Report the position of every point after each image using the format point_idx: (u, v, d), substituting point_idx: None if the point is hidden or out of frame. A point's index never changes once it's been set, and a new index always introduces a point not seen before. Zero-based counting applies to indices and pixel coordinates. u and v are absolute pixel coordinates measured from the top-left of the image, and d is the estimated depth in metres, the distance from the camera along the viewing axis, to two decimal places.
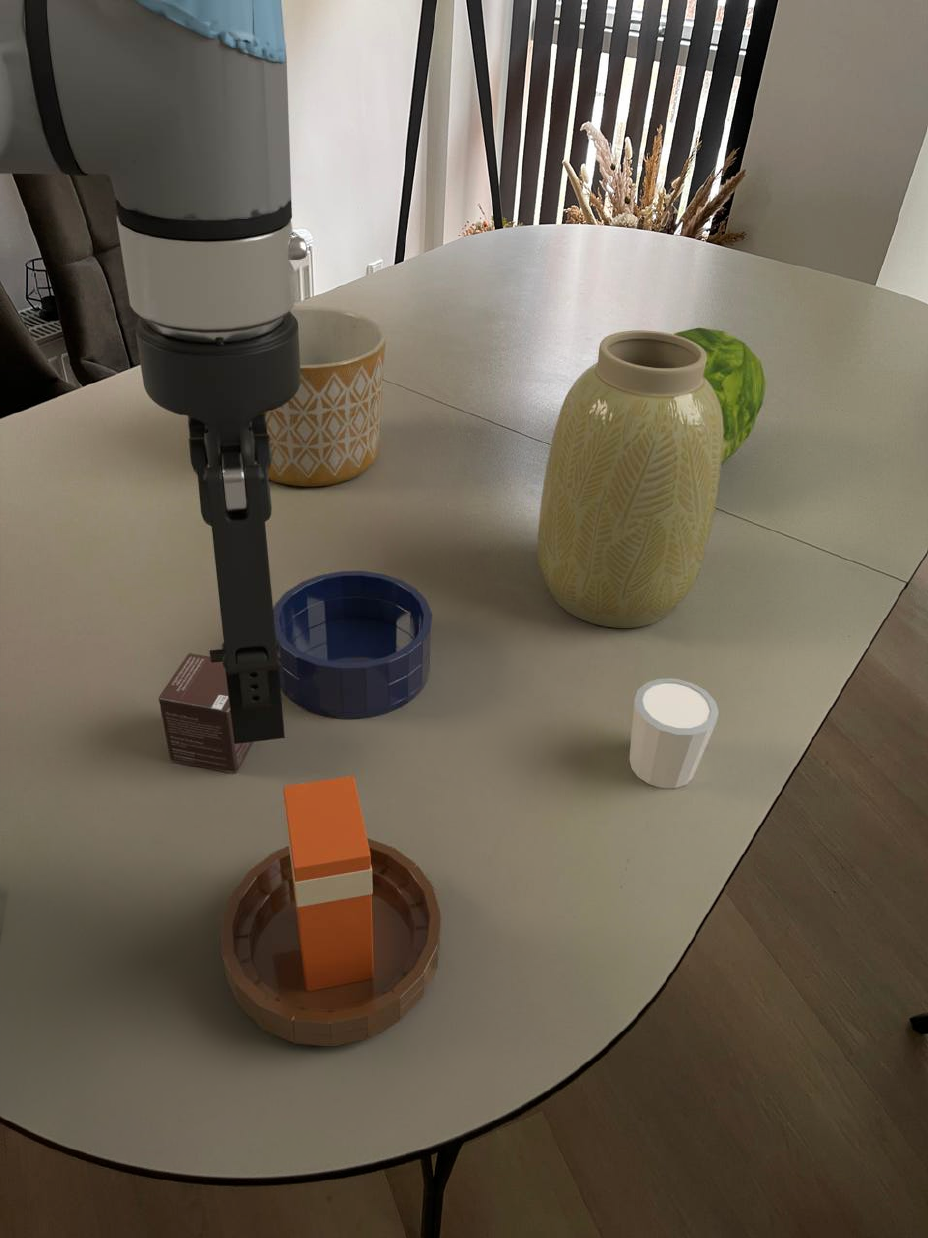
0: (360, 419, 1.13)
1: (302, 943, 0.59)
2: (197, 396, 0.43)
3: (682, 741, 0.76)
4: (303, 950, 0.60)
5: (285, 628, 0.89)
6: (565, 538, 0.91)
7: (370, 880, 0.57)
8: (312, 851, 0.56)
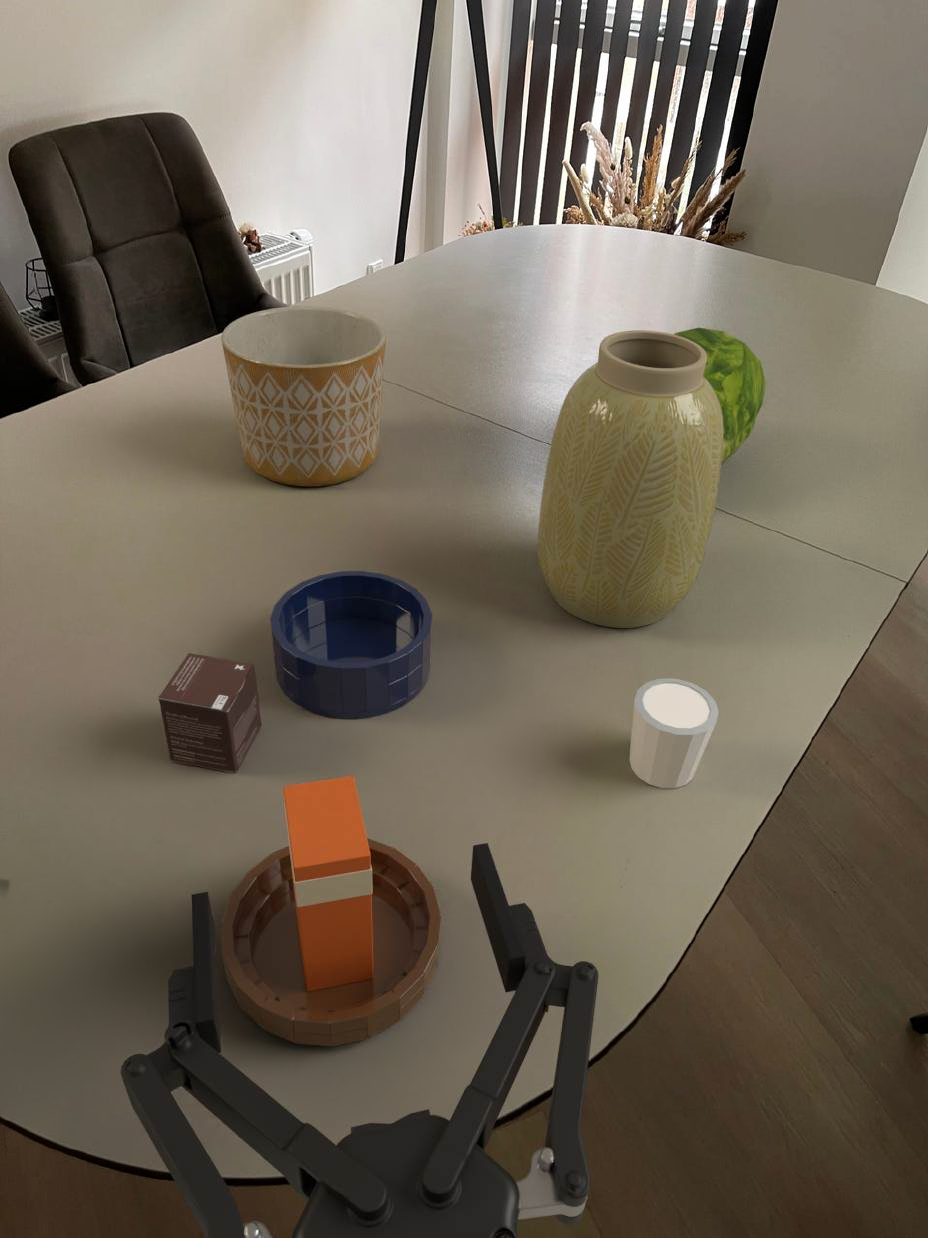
0: (360, 419, 1.13)
1: (302, 943, 0.59)
2: None
3: (682, 741, 0.76)
4: (303, 950, 0.60)
5: (285, 628, 0.89)
6: (565, 538, 0.91)
7: (370, 880, 0.57)
8: (312, 851, 0.56)
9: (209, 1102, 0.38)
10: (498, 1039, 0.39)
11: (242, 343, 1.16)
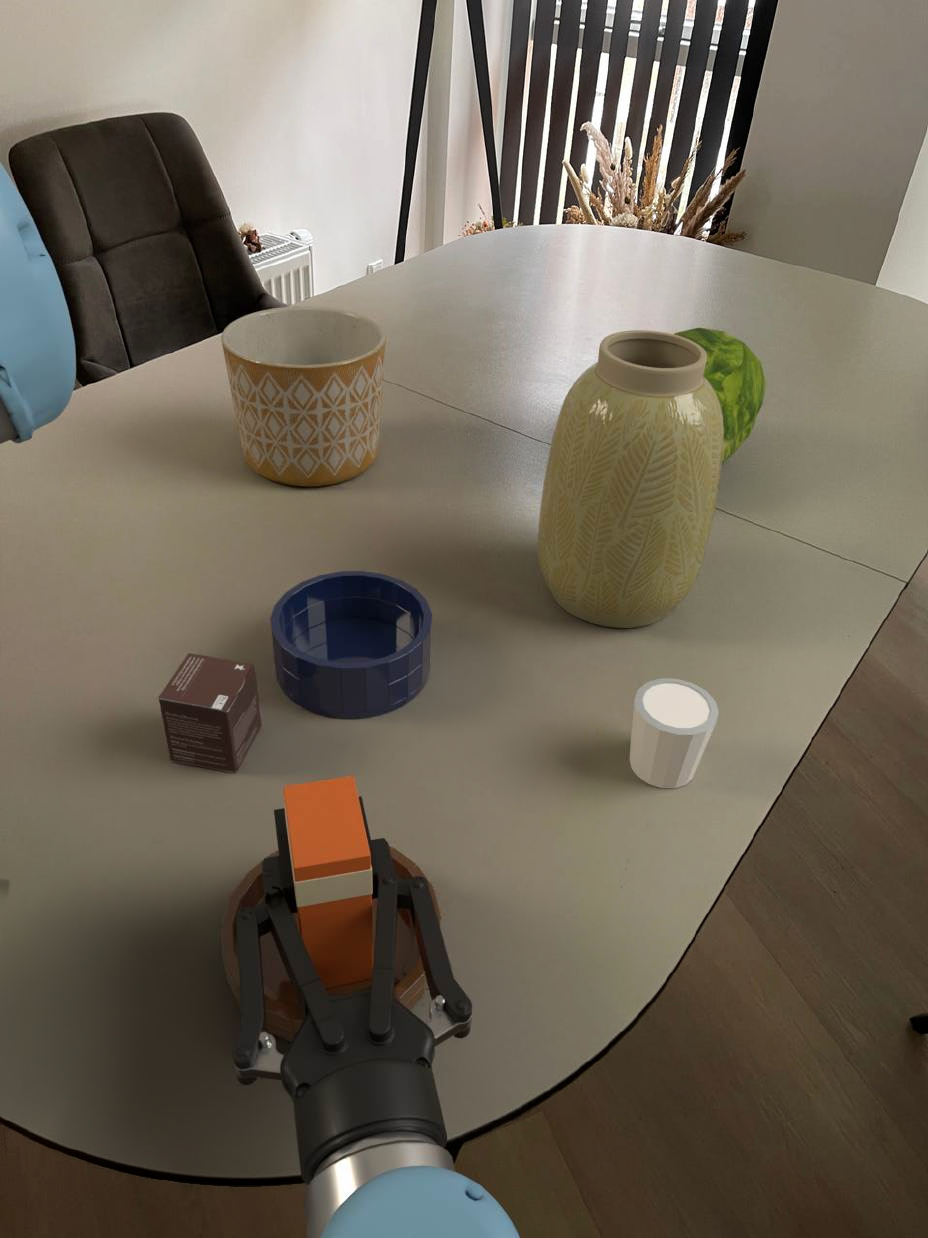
0: (360, 419, 1.13)
1: None
2: (299, 1122, 0.48)
3: (682, 741, 0.76)
4: None
5: (285, 628, 0.89)
6: (565, 538, 0.91)
7: (370, 880, 0.57)
8: (312, 851, 0.56)
9: (277, 944, 0.58)
10: (379, 933, 0.57)
11: (242, 343, 1.16)
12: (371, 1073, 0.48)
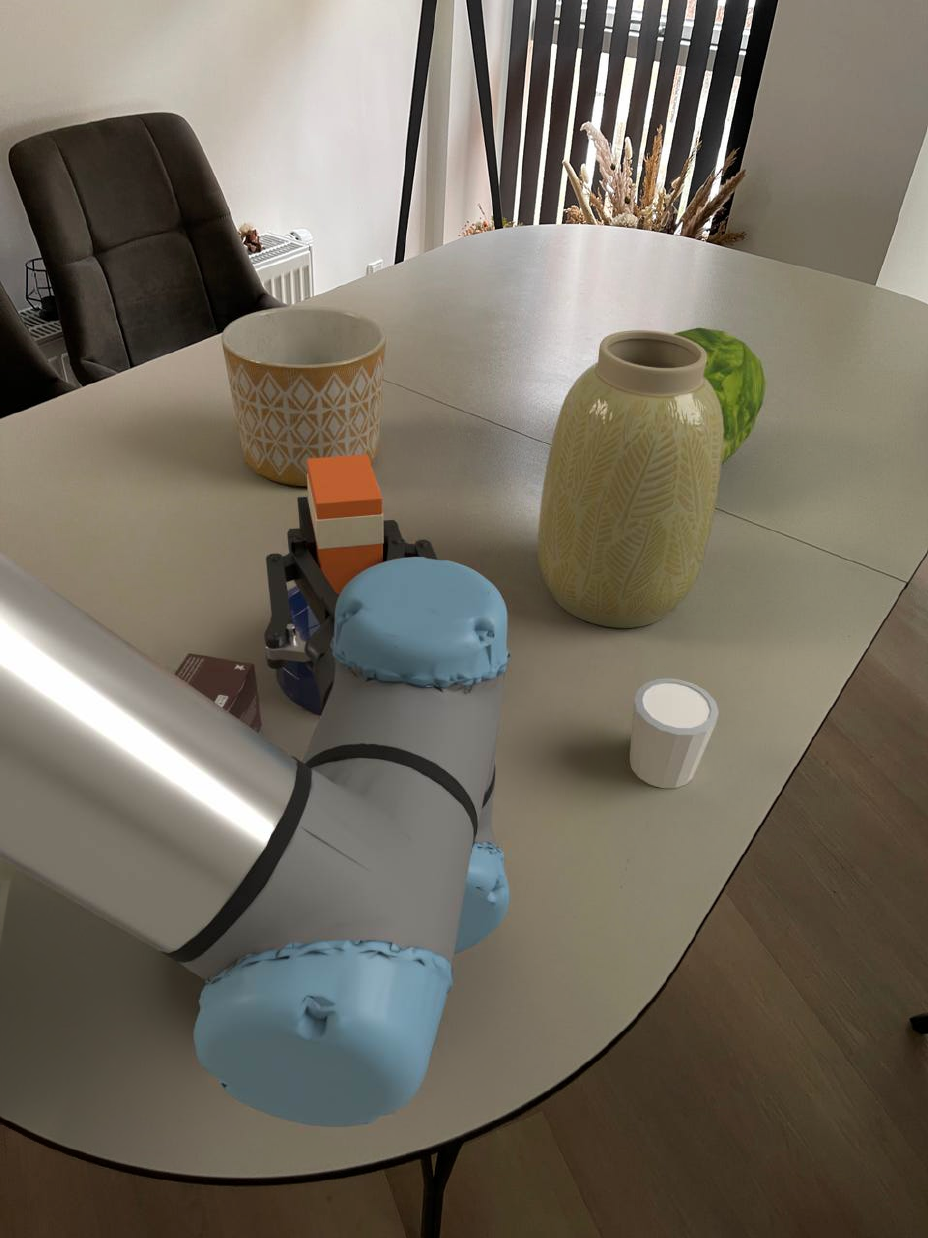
0: (360, 419, 1.13)
1: None
2: (321, 672, 0.57)
3: (682, 741, 0.76)
4: None
5: None
6: (565, 538, 0.91)
7: (381, 527, 0.66)
8: (332, 494, 0.65)
9: (301, 584, 0.67)
10: None
11: (242, 343, 1.16)
12: None
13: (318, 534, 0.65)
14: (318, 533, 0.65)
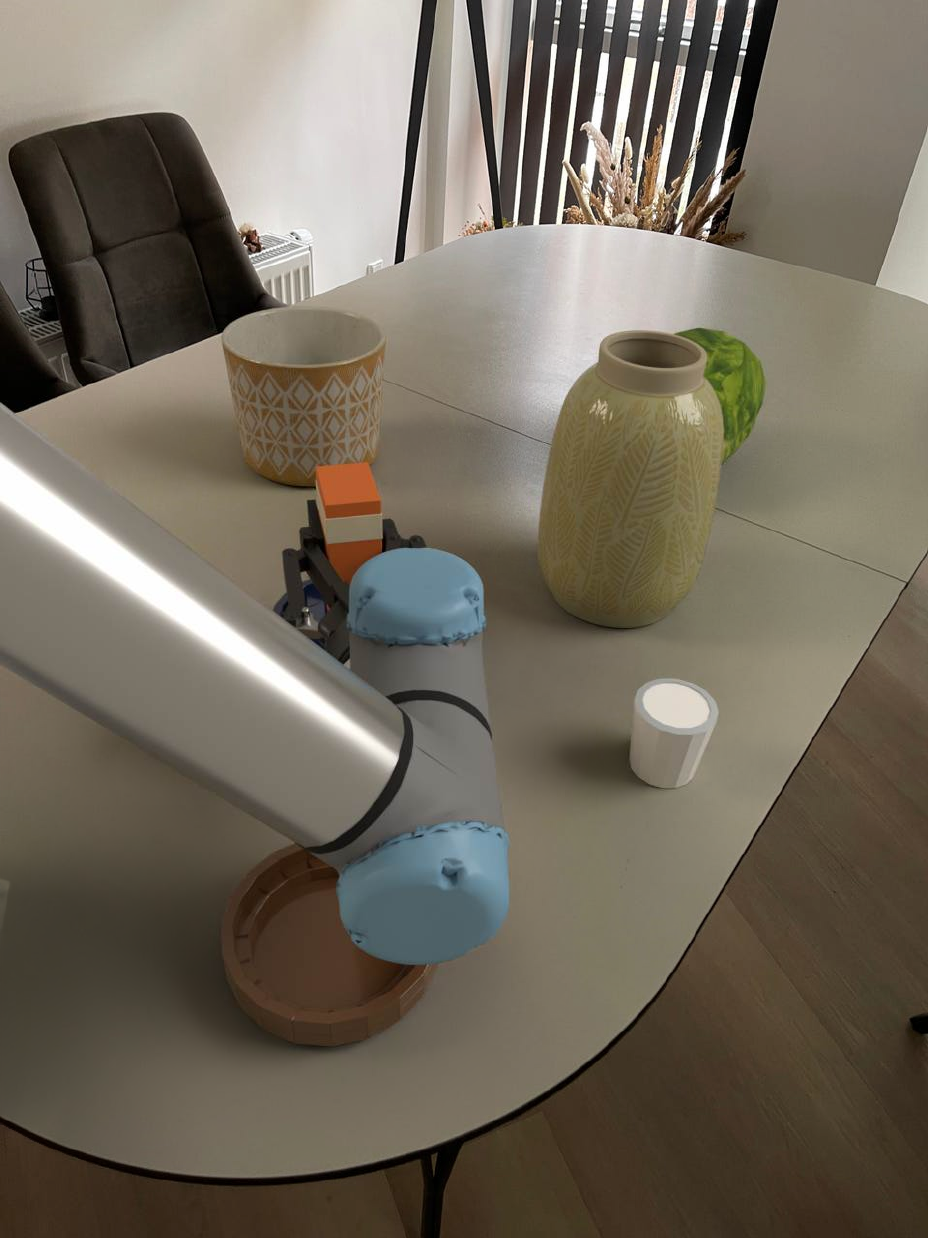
0: (360, 419, 1.13)
1: None
2: (332, 646, 0.69)
3: (682, 741, 0.76)
4: None
5: None
6: (565, 538, 0.91)
7: (380, 524, 0.78)
8: (338, 497, 0.76)
9: (312, 574, 0.78)
10: None
11: (242, 343, 1.16)
12: None
13: (327, 531, 0.77)
14: (327, 530, 0.77)
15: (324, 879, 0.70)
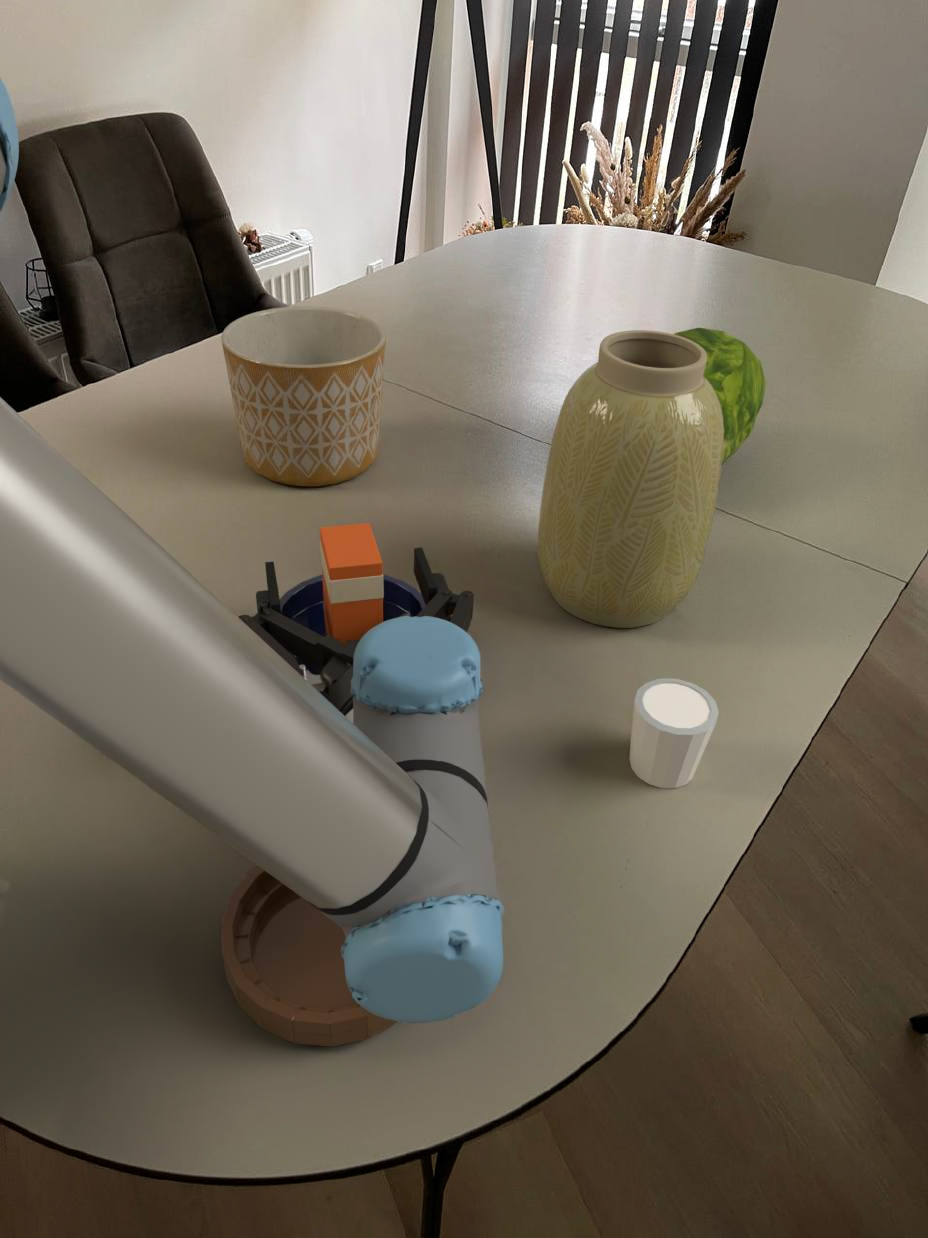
0: (360, 419, 1.13)
1: None
2: (334, 696, 0.71)
3: (682, 741, 0.76)
4: None
5: None
6: (565, 538, 0.91)
7: (382, 585, 0.81)
8: (341, 560, 0.80)
9: (278, 638, 0.79)
10: (420, 614, 0.80)
11: (242, 343, 1.16)
12: None
13: (330, 592, 0.80)
14: (330, 591, 0.80)
15: None
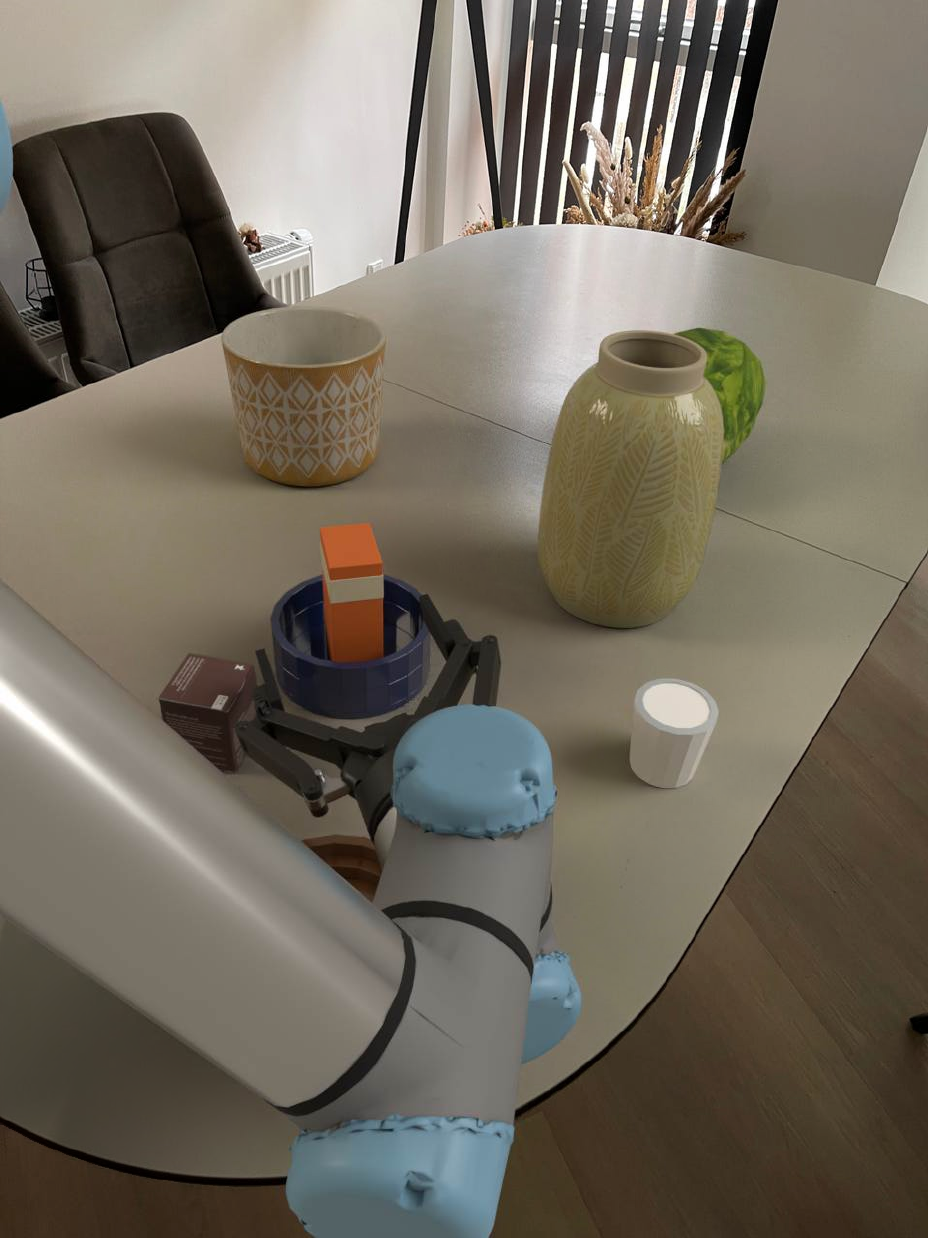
0: (360, 419, 1.13)
1: (333, 637, 0.84)
2: (361, 802, 0.60)
3: (682, 741, 0.76)
4: (334, 644, 0.84)
5: (285, 628, 0.89)
6: (565, 538, 0.91)
7: (382, 585, 0.81)
8: (341, 560, 0.80)
9: (286, 739, 0.68)
10: (441, 676, 0.69)
11: (242, 343, 1.16)
12: None
13: (330, 592, 0.80)
14: (330, 591, 0.80)
15: None
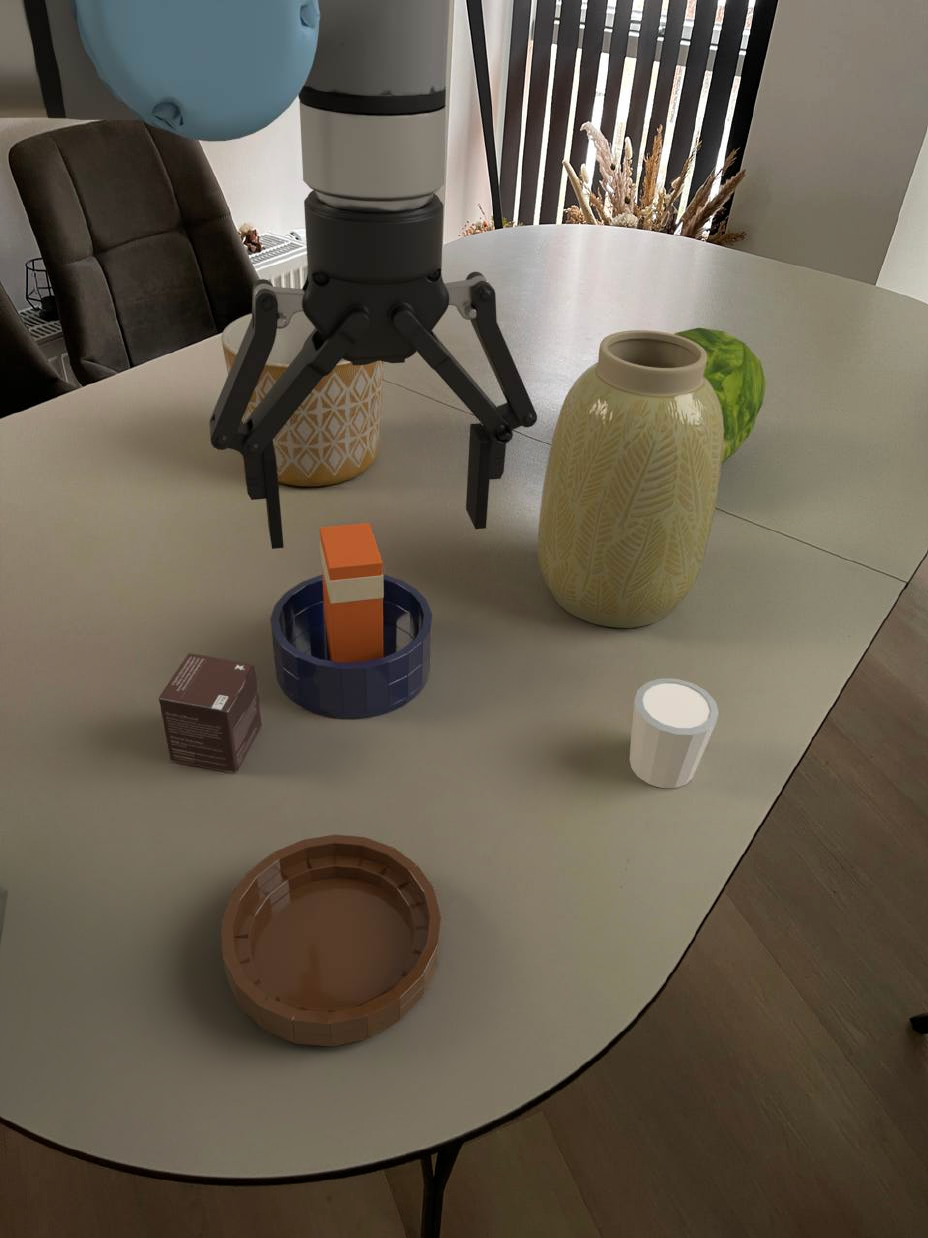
0: (360, 419, 1.13)
1: (333, 637, 0.84)
2: (441, 245, 0.52)
3: (682, 741, 0.76)
4: (334, 644, 0.84)
5: (285, 628, 0.89)
6: (565, 538, 0.91)
7: (382, 585, 0.81)
8: (341, 560, 0.80)
9: (483, 393, 0.60)
10: (296, 403, 0.56)
11: None
12: (381, 269, 0.50)
13: (330, 592, 0.80)
14: (330, 591, 0.80)
15: (324, 879, 0.70)
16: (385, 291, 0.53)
